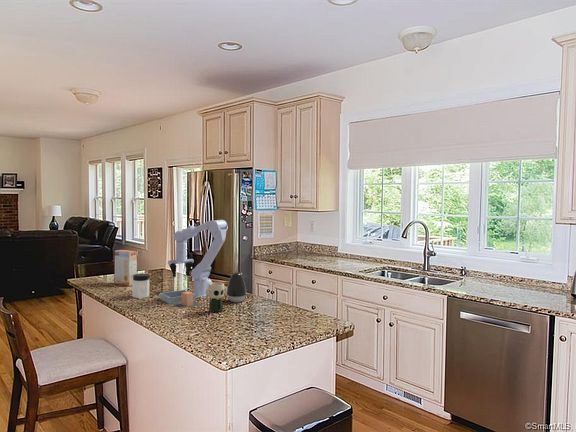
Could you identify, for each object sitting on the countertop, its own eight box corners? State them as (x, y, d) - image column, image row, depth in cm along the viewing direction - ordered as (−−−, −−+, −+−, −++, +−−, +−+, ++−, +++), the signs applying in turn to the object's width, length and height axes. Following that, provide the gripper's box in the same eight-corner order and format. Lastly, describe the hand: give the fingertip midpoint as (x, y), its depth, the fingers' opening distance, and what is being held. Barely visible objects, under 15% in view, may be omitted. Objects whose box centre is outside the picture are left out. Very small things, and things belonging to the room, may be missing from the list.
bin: (184, 296, 233) (184, 289, 233) (195, 301, 222) (195, 294, 222) (159, 299, 225) (159, 292, 224) (169, 305, 213) (169, 298, 213)
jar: (134, 299, 224) (134, 276, 223) (130, 296, 231) (130, 274, 230) (151, 297, 229) (151, 275, 228) (147, 294, 236) (147, 272, 235)
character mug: (209, 314, 197) (209, 286, 197) (202, 311, 203) (202, 283, 203) (230, 311, 204) (230, 284, 203) (222, 308, 210) (223, 281, 209)
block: (187, 303, 216) (187, 291, 215) (193, 304, 213) (193, 292, 213) (181, 304, 212) (181, 292, 212) (187, 305, 210) (187, 293, 210)
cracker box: (137, 285, 261) (137, 250, 260) (128, 286, 256) (128, 251, 255) (122, 282, 268) (122, 249, 267) (114, 283, 263) (114, 250, 262)
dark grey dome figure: (249, 300, 226) (250, 271, 226) (239, 304, 217) (240, 274, 216) (233, 298, 231) (233, 270, 230) (222, 302, 221) (223, 273, 221)
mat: (194, 302, 220) (194, 301, 220) (203, 306, 212) (203, 305, 212) (172, 305, 213) (172, 304, 213) (180, 309, 205) (180, 308, 205)
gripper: (190, 250, 248) (189, 274, 248) (165, 252, 239) (165, 276, 239) (195, 252, 242) (195, 275, 243) (170, 253, 233) (170, 278, 234)
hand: (180, 276), depth 241 cm, fingers open, 7 cm apart
